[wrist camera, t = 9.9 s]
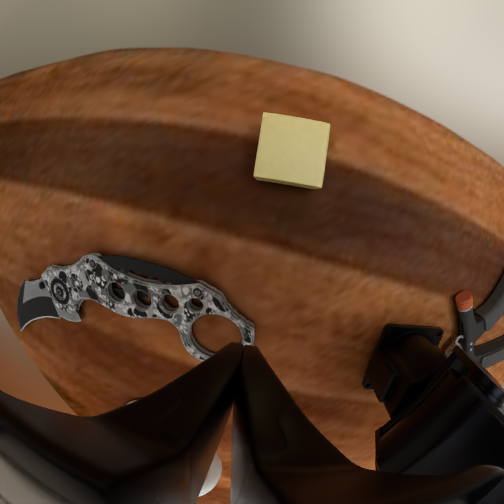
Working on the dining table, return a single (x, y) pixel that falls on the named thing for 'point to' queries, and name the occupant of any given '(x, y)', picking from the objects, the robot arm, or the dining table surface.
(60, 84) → the dining table surface
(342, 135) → the dining table surface
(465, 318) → the hand grip strengthener
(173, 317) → the knife
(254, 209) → the dining table surface
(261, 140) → the butter
